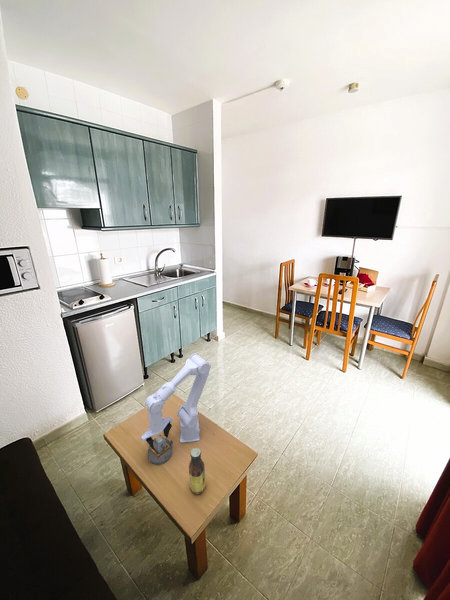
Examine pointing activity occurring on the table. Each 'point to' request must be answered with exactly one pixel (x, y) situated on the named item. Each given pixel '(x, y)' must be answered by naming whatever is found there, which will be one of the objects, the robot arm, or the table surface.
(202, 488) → the sauce bottle
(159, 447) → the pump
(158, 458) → the grey disc square socket
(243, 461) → the table surface
